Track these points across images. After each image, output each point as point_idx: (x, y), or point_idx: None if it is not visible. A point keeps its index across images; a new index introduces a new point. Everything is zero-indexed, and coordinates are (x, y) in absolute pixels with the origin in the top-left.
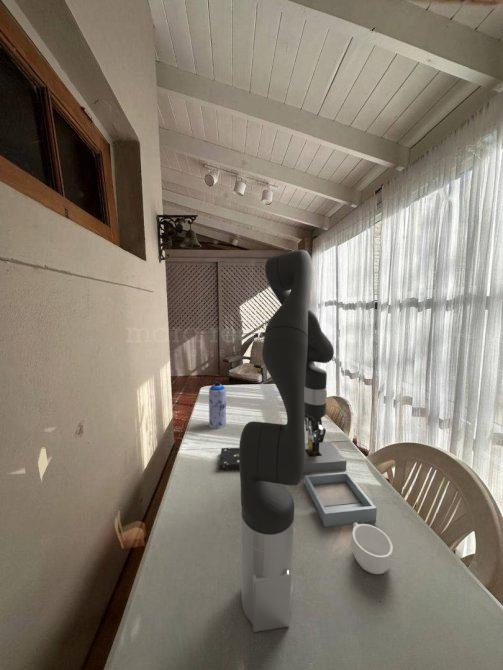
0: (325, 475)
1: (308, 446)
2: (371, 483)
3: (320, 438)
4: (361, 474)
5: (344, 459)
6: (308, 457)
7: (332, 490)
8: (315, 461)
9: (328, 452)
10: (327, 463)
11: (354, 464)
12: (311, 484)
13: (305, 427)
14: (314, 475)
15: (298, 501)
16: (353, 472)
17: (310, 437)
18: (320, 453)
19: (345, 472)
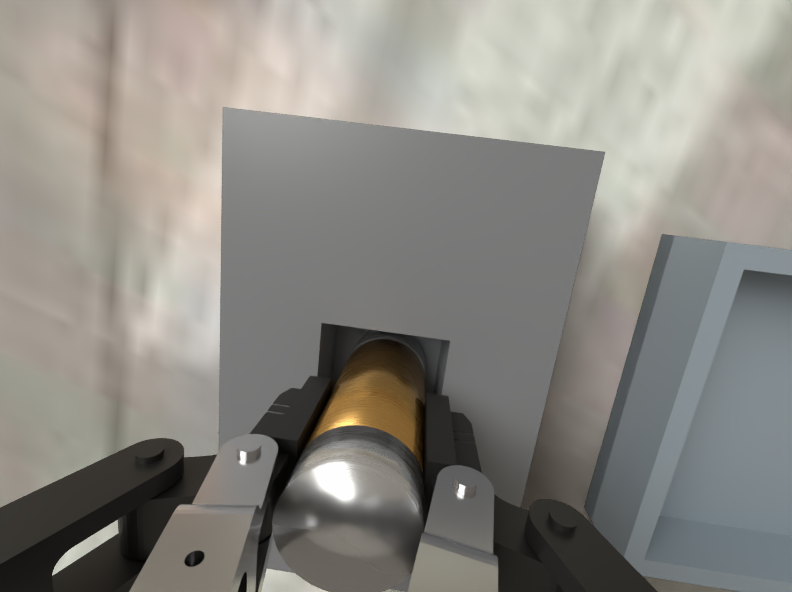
0: (682, 442)
1: (272, 379)
2: (755, 41)
3: (554, 569)
4: (629, 47)
5: (579, 161)
6: None
7: None
8: (512, 440)
9: (415, 251)
10: (554, 345)
11: (491, 14)
12: (726, 578)
13: (106, 559)
14: (648, 514)
15: (676, 581)
16: (582, 101)
17: (376, 576)
18: (409, 334)
19: (728, 266)
